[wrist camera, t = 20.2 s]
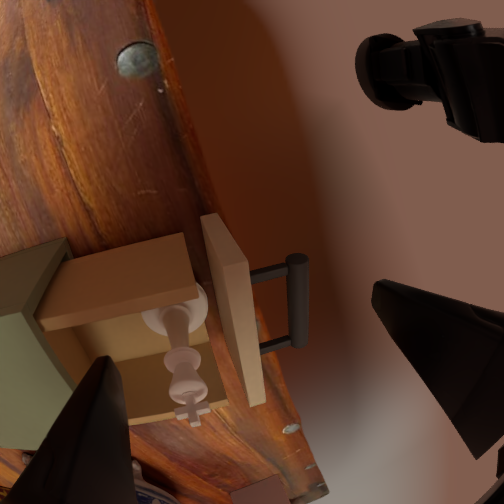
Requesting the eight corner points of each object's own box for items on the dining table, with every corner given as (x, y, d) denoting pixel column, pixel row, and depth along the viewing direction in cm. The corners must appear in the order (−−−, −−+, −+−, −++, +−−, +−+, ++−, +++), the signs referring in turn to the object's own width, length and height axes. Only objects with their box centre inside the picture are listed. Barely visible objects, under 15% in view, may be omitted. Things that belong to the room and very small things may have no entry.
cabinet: (66, 236, 18) (21, 311, 10) (122, 362, 23) (123, 448, 16) (-52, 276, 14) (-100, 338, 7) (9, 378, 20) (-10, 446, 12)
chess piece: (214, 321, 22) (253, 432, 13) (153, 338, 21) (165, 453, 12) (198, 266, 20) (236, 380, 11) (130, 285, 19) (124, 407, 10)
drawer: (277, 200, 21) (331, 240, 14) (284, 324, 26) (322, 382, 19) (37, 257, 17) (-2, 318, 10) (94, 369, 22) (89, 437, 16)
